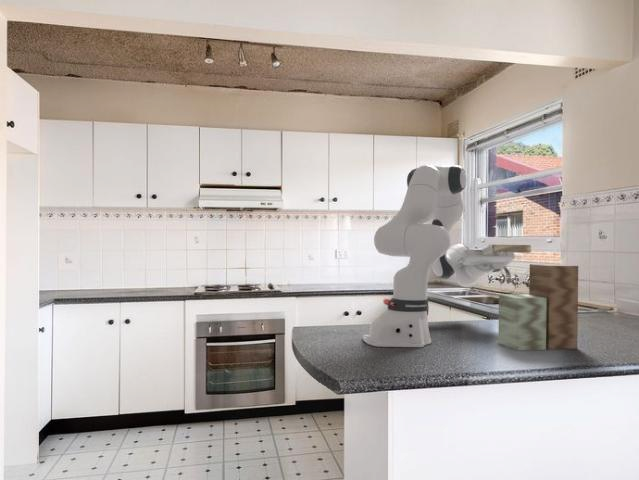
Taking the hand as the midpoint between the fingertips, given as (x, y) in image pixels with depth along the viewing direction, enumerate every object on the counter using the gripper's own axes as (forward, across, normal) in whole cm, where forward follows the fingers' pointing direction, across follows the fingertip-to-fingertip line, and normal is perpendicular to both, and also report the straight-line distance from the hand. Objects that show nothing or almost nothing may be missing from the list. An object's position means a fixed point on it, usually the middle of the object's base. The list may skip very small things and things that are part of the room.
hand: (497, 246), depth 171 cm
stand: (+6, -1, +40) cm, 40 cm away
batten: (+5, 0, +5) cm, 7 cm away
